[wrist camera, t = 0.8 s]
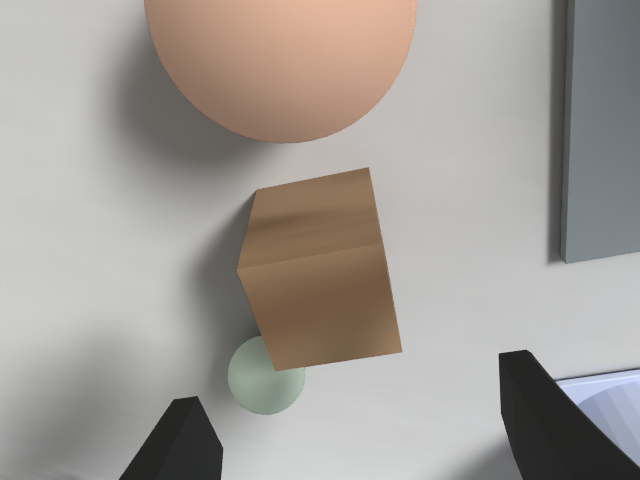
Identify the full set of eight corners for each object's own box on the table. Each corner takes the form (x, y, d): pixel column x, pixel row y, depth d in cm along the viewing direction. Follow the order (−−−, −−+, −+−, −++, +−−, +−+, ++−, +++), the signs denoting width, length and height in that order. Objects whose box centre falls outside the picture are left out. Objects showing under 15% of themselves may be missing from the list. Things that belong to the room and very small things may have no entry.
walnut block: (386, 260, 22) (402, 352, 17) (285, 278, 23) (274, 371, 18) (368, 166, 20) (381, 243, 15) (257, 189, 20) (236, 269, 16)
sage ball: (313, 366, 25) (311, 425, 22) (246, 376, 26) (235, 436, 23) (296, 313, 24) (292, 370, 21) (224, 325, 24) (209, 383, 21)
